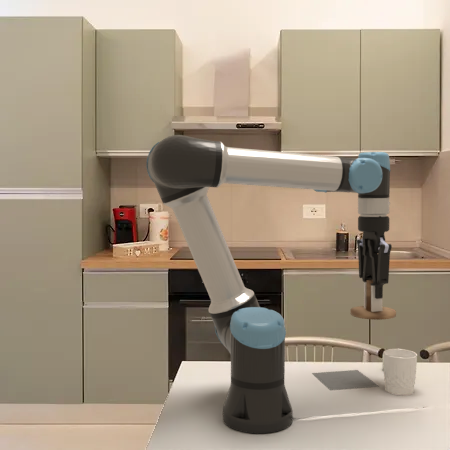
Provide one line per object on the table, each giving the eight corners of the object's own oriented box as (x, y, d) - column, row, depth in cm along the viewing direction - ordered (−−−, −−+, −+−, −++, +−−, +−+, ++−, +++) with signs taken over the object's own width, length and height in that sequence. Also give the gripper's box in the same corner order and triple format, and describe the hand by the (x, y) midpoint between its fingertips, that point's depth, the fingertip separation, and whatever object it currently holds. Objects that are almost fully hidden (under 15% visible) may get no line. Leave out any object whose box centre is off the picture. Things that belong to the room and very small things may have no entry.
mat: (330, 393, 143) (330, 390, 143) (311, 376, 156) (311, 373, 156) (379, 389, 146) (379, 386, 146) (357, 372, 158) (357, 369, 158)
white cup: (412, 388, 146) (413, 349, 146) (419, 399, 139) (420, 358, 138) (380, 387, 147) (380, 348, 147) (385, 398, 139) (386, 357, 139)
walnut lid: (363, 321, 139) (363, 285, 139) (343, 311, 150) (343, 278, 149) (404, 317, 142) (404, 283, 141) (382, 308, 152) (382, 276, 152)
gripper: (405, 216, 137) (403, 315, 139) (371, 213, 153) (371, 302, 154) (375, 217, 135) (375, 317, 137) (345, 214, 151) (344, 303, 153)
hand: (373, 309), depth 146 cm, fingers closed on walnut lid, 3 cm apart
